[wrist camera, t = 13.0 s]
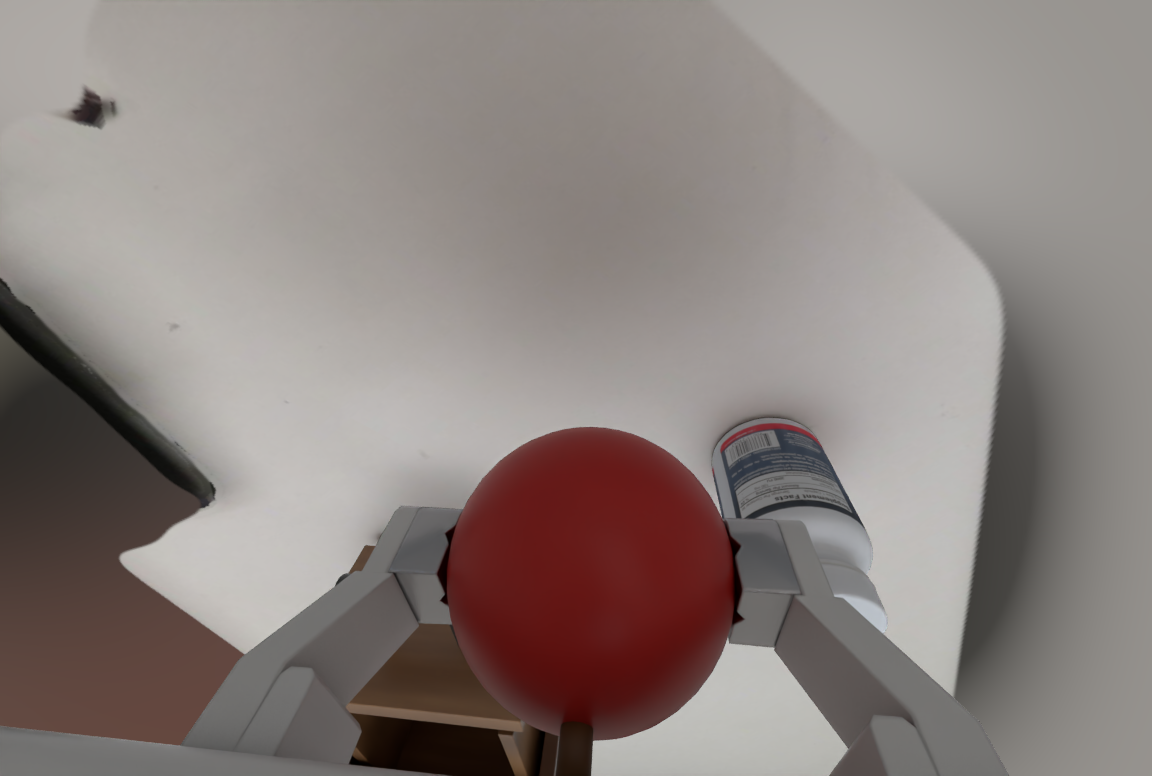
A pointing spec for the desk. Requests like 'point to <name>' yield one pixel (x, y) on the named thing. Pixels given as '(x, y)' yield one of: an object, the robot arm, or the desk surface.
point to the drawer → (438, 712)
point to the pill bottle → (798, 501)
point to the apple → (590, 586)
